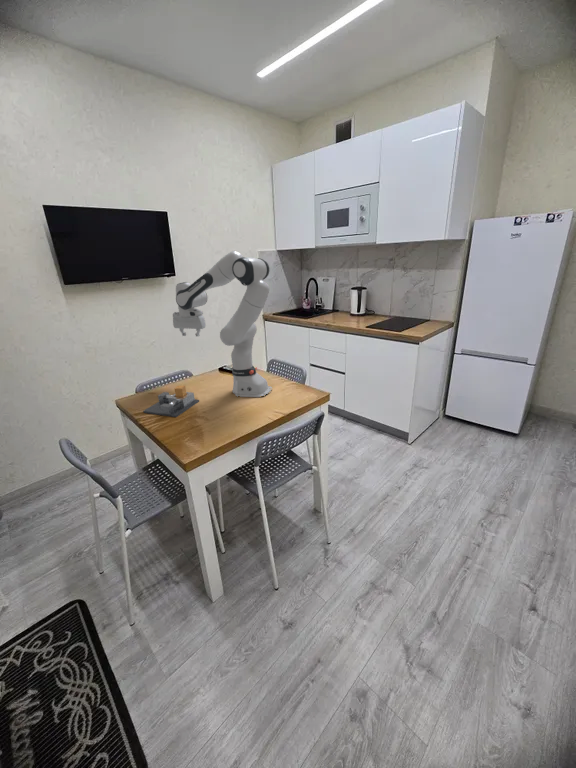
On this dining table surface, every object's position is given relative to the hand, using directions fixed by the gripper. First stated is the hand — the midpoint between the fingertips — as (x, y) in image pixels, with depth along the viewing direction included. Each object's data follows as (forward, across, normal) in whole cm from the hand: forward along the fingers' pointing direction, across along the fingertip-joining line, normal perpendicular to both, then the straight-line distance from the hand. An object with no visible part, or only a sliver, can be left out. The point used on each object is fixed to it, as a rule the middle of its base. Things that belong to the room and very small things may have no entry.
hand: (190, 336), depth 185 cm
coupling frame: (+29, +8, -34) cm, 46 cm away
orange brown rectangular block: (+28, +12, -31) cm, 43 cm away
